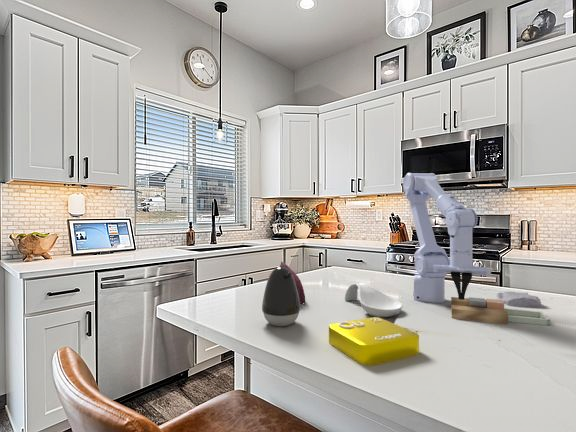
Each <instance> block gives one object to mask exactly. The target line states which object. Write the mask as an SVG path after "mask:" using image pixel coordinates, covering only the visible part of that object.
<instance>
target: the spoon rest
mask: <svg viewBox="0 0 576 432" xmlns="http://www.w3.org/2000/svg"><path fill="white" fill-rule="evenodd" d="M344 295H345V296H344V301H347V302H349V301H350V300H352V301H359V302H360V305H361V307H362V309H363V311H364V312H366V313H367V315H370V316H372V317H379V318H390V317H393V316H395V315H397V314H398V313H400V311H401V310H402V309H403V304H402V303H401V302H400V301H399V300H397V299H395V298H394V297H391V295H388V294H386V293H385V292H382V291H381V290H379V289H377V288H375V287H374V286H372V285H370V284H368V283H365V282H360V283H356V282H355V283H351V284H350V285H349V286H348V288H347V290H346V292H345V294H344Z"/></svg>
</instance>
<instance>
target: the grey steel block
mask: <svg viewBox="0 0 576 432" xmlns="http://www.w3.org/2000/svg"><path fill="white" fill-rule="evenodd" d="M468 299H469V307H478V308H486V301H485V300H486V298H480V297H472V296H471V297H470V296H468Z"/></svg>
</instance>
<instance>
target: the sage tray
mask: <svg viewBox="0 0 576 432" xmlns="http://www.w3.org/2000/svg"><path fill="white" fill-rule="evenodd" d="M504 310H506V312H507V313H508V322H513V323H520V324H521V323H524V324H532V325H540V326H549V327H550V326H551V320H550V318H548V316H547V314H545V313H544V312H543V311H536V310H529V309H515V308H505V307H504Z"/></svg>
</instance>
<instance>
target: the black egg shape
mask: <svg viewBox="0 0 576 432" xmlns="http://www.w3.org/2000/svg"><path fill="white" fill-rule="evenodd" d="M261 304H262V305H261V306H262V307H261V310H262V313H263V316H264V318H265V320H266V322H268V324H270V325H272V326H274V327H288V326H290V325H292V324H293V323H294V322H296V320H297V318H298V317H299V313H300V311H301V305H300V301H299V295H298V291H297V287H296V284H295V281H294V278H293V276H292V274H291V272H290V271H289V270H288V269H287V268H285V267H280V266H278V267H275V268H274V269H273V270H272V271H271V272H270V274H269V277H268V279H267V280H266V285H265V289H264V293H263V297H262V303H261Z"/></svg>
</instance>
